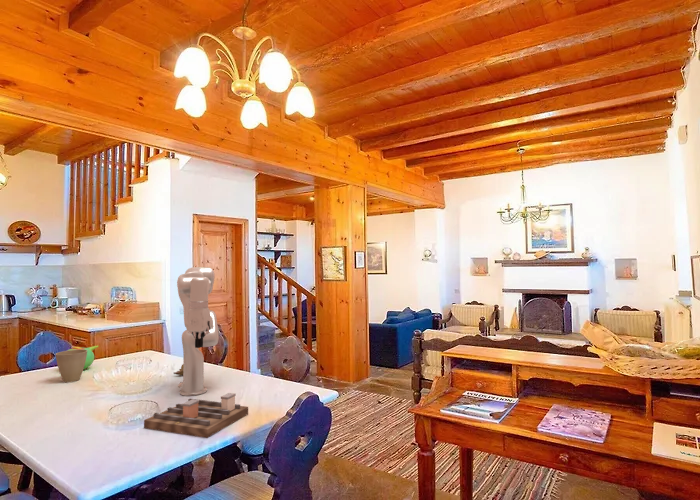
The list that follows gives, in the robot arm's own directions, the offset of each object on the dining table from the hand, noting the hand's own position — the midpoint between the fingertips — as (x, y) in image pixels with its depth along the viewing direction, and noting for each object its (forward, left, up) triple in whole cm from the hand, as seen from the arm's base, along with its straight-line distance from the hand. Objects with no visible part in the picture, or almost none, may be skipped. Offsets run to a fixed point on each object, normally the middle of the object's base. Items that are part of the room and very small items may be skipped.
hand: (199, 347), depth 183 cm
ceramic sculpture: (-48, +48, -28) cm, 73 cm away
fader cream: (+19, -5, -24) cm, 31 cm away
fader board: (+9, -11, -27) cm, 31 cm away
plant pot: (-102, +17, -27) cm, 107 cm away
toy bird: (-123, +37, -27) cm, 131 cm away
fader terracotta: (+10, -17, -24) cm, 31 cm away
